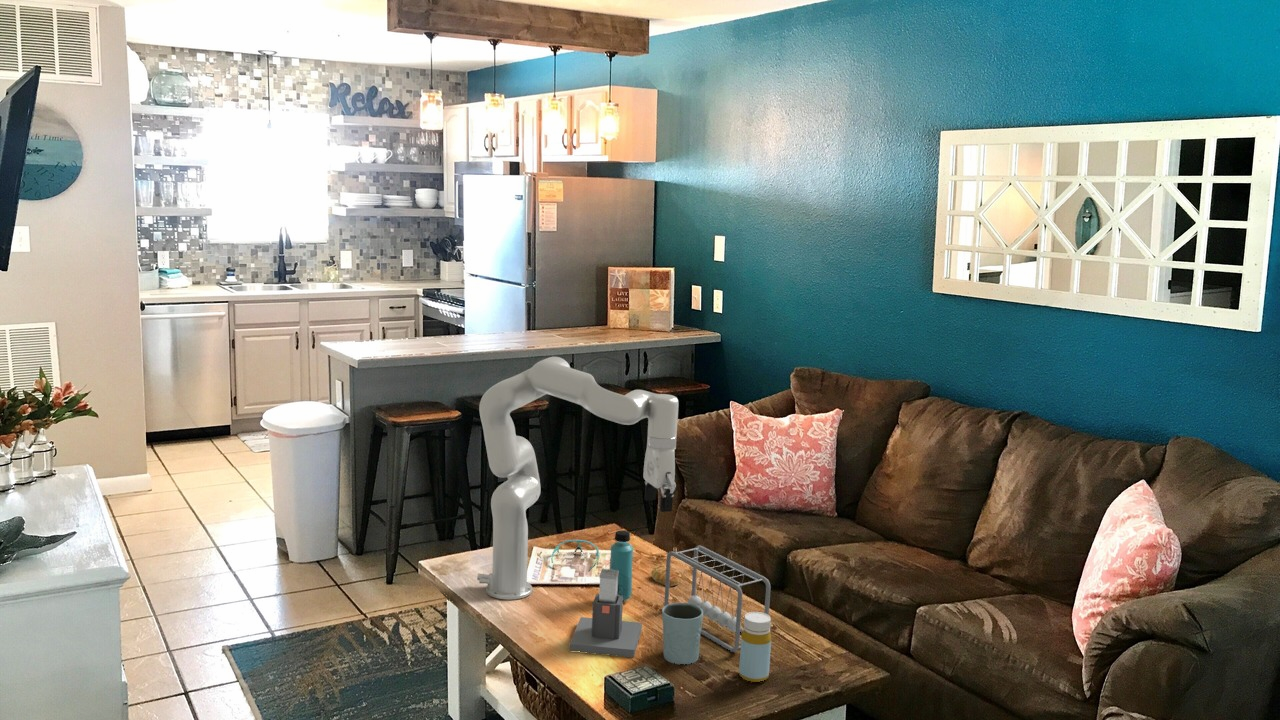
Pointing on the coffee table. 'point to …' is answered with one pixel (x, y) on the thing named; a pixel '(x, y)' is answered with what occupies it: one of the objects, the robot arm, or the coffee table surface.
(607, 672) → the coffee table surface
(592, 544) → the teal thin curved band
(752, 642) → the bottle
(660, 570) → the pastry
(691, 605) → the grey cup
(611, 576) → the stand column
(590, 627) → the stand base
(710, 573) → the newton's cradle
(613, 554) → the beverage bottle
